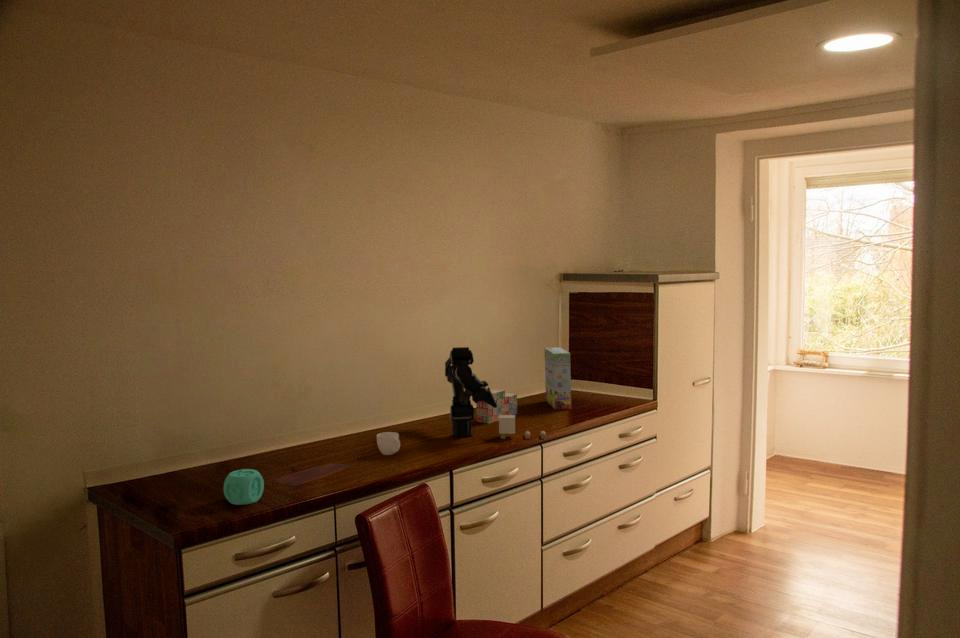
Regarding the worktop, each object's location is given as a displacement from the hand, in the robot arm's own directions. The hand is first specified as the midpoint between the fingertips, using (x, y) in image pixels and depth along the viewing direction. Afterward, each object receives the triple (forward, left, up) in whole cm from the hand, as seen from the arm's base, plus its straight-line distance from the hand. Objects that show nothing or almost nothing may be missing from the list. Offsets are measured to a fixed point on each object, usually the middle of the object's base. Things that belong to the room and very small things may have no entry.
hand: (496, 407), depth 281 cm
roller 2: (+14, -12, -12) cm, 22 cm away
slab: (+3, -3, -10) cm, 10 cm away
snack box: (+61, +31, -12) cm, 70 cm away
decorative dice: (-102, -14, -12) cm, 104 cm away
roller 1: (+1, -1, -12) cm, 12 cm away
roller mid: (+8, -7, -11) cm, 15 cm away
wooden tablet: (-75, -2, -12) cm, 76 cm away
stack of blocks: (+22, +26, -12) cm, 36 cm away
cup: (-44, +4, -12) cm, 46 cm away
